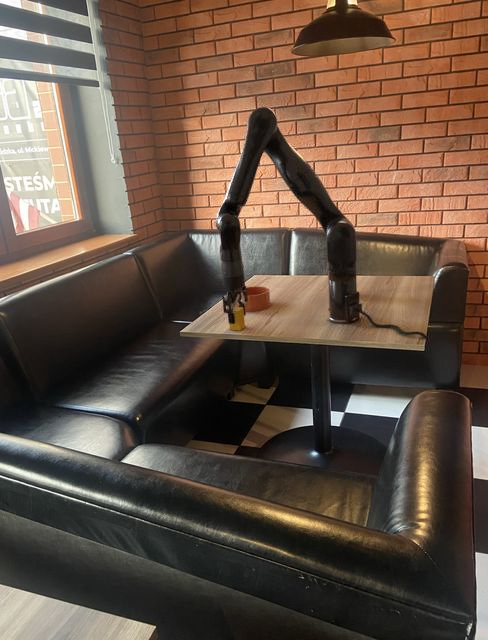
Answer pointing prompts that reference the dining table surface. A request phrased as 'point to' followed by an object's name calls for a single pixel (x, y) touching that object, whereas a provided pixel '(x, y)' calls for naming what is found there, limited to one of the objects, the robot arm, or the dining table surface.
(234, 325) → the sponge
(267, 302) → the crock
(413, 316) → the dining table surface
